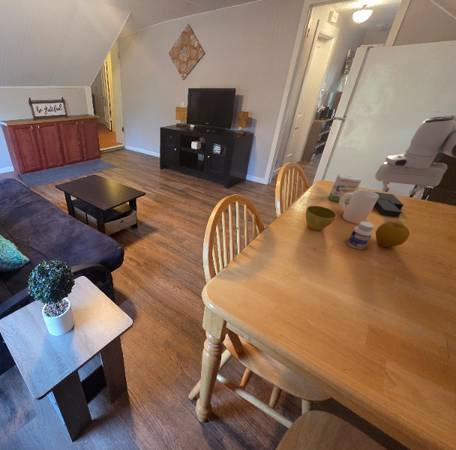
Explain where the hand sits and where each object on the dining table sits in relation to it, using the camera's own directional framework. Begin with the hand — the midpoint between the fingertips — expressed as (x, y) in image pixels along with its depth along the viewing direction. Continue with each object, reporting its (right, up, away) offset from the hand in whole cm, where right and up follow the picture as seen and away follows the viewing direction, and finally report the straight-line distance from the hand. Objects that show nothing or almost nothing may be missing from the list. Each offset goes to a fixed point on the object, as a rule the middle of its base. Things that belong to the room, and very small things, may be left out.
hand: (398, 192), depth 104 cm
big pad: (+4, -2, +14) cm, 14 cm away
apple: (-21, -21, -16) cm, 34 cm away
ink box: (-14, -2, +15) cm, 21 cm away
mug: (-21, -11, +1) cm, 23 cm away
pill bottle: (-32, -21, -16) cm, 41 cm away
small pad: (0, -7, +7) cm, 10 cm away
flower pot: (-40, -15, -6) cm, 43 cm away
